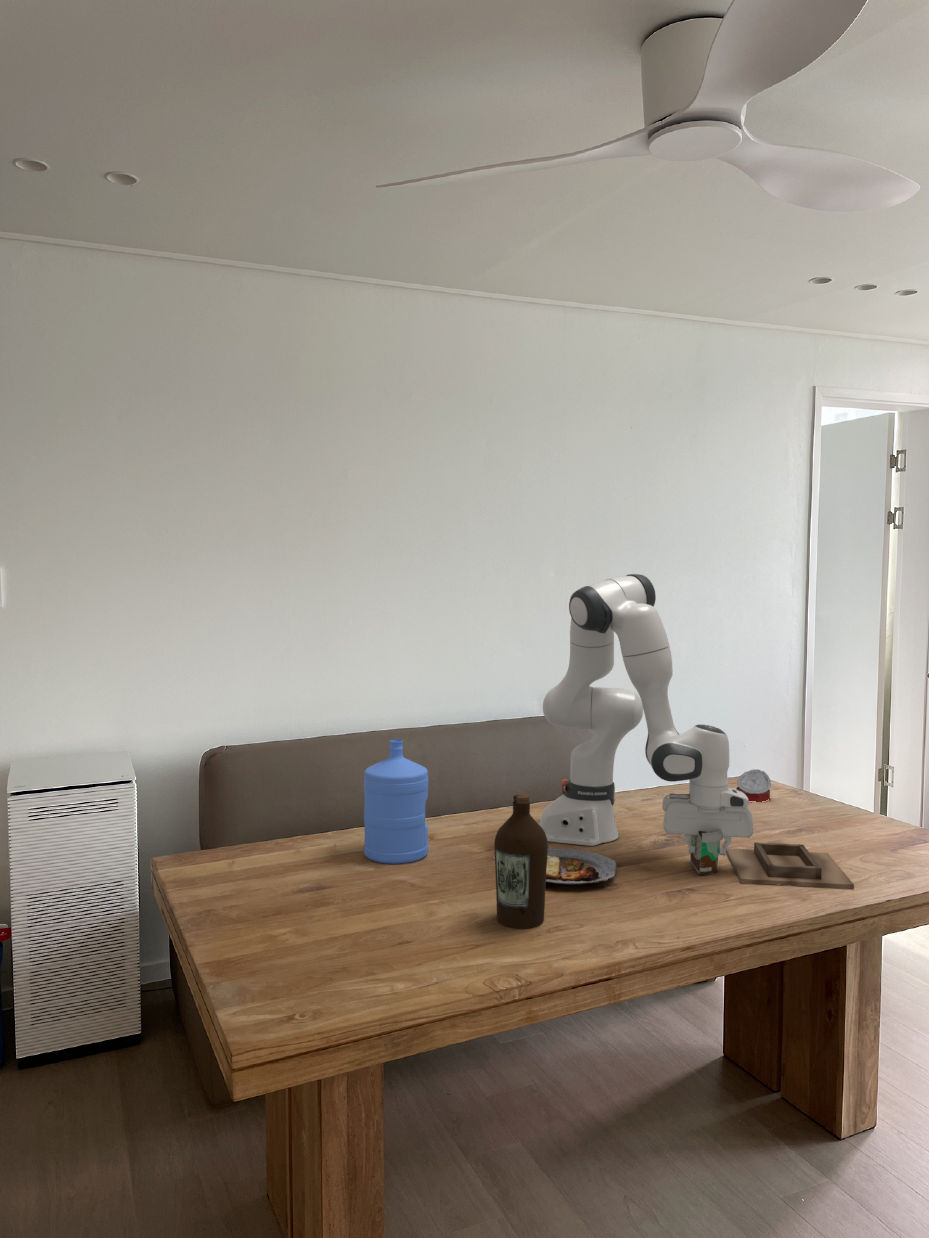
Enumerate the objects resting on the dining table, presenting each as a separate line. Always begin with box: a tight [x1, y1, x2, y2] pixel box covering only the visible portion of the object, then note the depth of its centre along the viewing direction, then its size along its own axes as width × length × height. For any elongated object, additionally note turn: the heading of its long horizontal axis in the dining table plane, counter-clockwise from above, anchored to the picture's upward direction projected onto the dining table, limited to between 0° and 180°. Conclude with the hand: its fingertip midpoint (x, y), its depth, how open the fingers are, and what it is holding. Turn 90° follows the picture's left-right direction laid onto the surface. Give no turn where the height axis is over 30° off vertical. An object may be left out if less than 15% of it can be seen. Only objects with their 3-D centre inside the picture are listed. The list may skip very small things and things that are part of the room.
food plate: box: [546, 848, 617, 886], centre depth 206 cm, size 25×23×4 cm
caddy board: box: [726, 841, 855, 890], centre depth 209 cm, size 24×22×4 cm
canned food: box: [735, 769, 772, 802], centre depth 273 cm, size 11×10×10 cm
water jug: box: [363, 739, 429, 865], centre depth 218 cm, size 16×16×28 cm
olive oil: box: [493, 793, 549, 929], centre depth 178 cm, size 11×11×25 cm
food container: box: [689, 829, 724, 876], centre depth 209 cm, size 12×6×10 cm, turn 178°
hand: (706, 853), depth 209 cm, fingers open, 5 cm apart
